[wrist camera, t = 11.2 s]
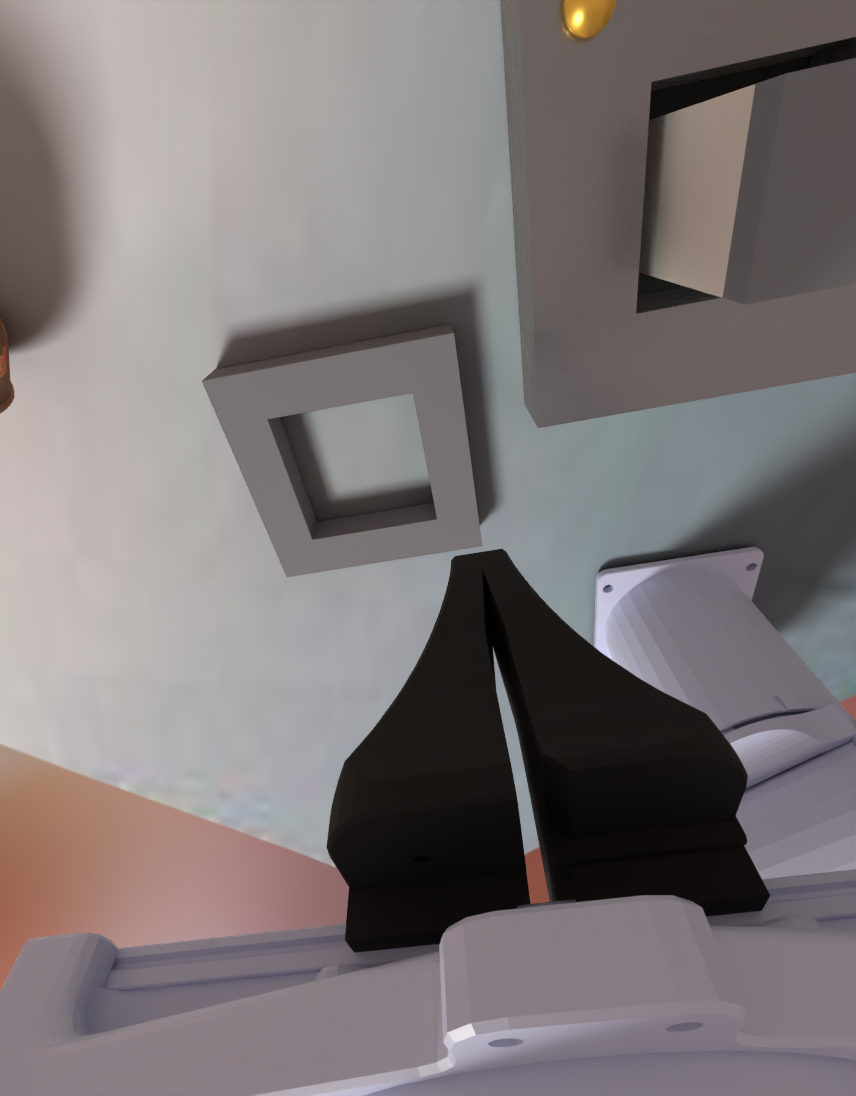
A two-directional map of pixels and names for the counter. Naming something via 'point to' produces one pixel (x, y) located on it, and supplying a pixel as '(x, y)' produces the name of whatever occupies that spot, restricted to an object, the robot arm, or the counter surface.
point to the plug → (756, 189)
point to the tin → (5, 371)
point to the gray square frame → (335, 380)
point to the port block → (617, 205)
